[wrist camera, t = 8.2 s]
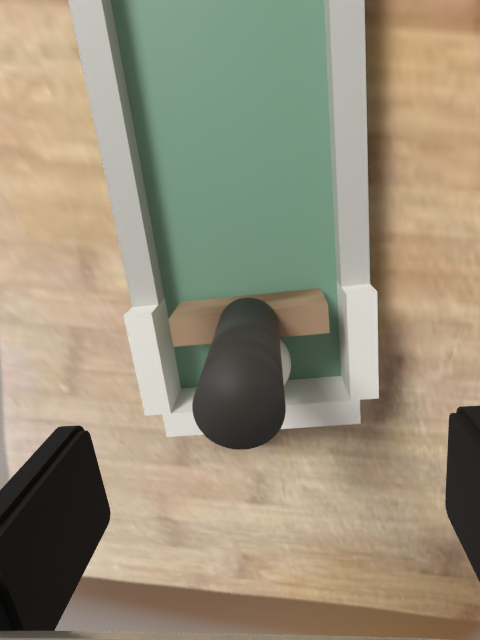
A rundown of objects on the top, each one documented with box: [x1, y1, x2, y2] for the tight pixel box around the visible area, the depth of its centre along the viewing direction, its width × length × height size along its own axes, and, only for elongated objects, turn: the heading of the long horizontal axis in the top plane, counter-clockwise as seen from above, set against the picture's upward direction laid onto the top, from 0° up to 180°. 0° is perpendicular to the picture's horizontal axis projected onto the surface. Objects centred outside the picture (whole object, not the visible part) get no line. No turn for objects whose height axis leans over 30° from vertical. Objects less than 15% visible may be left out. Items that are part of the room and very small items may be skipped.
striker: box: [168, 288, 330, 449], centre depth 19 cm, size 8×3×11 cm, turn 97°
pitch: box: [68, 0, 379, 437], centre depth 22 cm, size 13×24×4 cm, turn 7°
